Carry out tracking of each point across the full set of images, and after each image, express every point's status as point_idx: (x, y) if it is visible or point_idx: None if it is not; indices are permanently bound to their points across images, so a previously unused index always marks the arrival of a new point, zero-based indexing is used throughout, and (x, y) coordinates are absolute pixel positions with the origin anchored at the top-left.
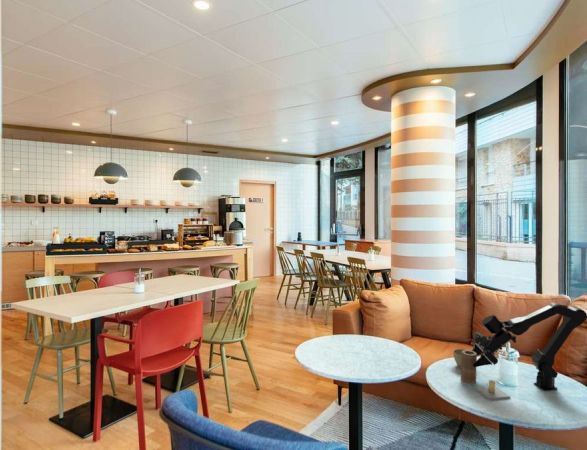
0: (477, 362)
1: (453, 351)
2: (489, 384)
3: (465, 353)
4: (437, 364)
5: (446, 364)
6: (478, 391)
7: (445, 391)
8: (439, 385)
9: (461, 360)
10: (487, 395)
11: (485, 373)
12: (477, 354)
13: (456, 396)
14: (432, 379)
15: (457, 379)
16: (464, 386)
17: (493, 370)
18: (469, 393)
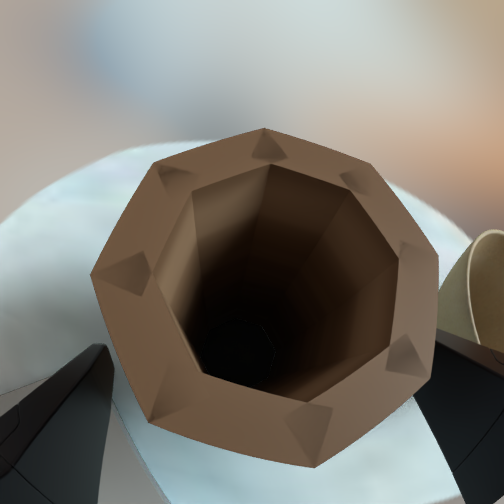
0: (40, 396)
1: (502, 235)
2: None
3: (206, 174)
4: (407, 195)
5: (432, 240)
6: None
7: (59, 193)
8: (121, 170)
9: (445, 298)
10: (9, 407)
11: (398, 470)
12: (453, 441)
13: (14, 237)
14: (191, 145)
15: None
16: None
17: (445, 498)
18: (39, 315)
